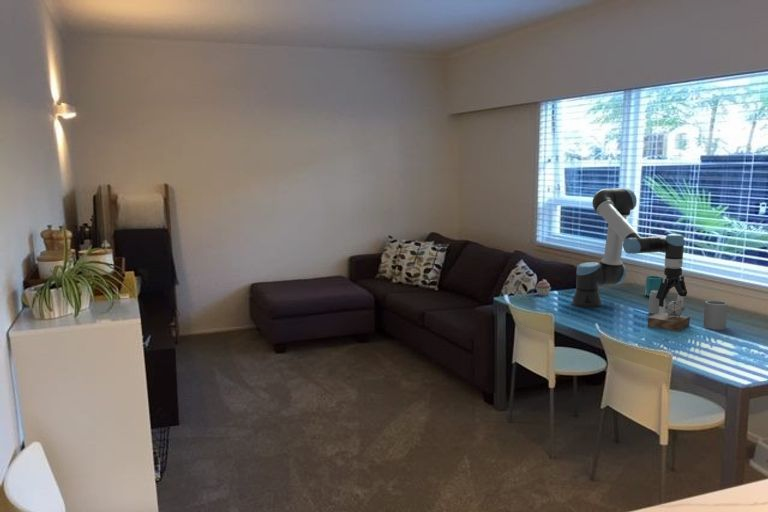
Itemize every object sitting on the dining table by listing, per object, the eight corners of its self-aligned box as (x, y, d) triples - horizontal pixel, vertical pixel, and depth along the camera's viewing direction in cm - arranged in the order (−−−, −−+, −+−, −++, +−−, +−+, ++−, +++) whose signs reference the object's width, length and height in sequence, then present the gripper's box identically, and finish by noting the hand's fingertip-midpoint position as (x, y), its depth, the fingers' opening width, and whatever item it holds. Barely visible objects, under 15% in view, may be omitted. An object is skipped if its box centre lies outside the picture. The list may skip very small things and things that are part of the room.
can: (666, 316, 303) (667, 292, 301) (650, 315, 304) (651, 292, 302) (662, 312, 310) (663, 289, 308) (647, 312, 311) (648, 289, 310)
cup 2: (725, 331, 274) (726, 305, 272) (702, 328, 279) (704, 303, 277) (726, 326, 282) (727, 301, 280) (704, 324, 287) (705, 299, 285)
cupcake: (534, 293, 361) (534, 277, 359) (550, 293, 359) (550, 277, 358) (535, 297, 351) (536, 280, 350) (552, 297, 350) (552, 280, 349)
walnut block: (647, 327, 284) (648, 317, 284) (659, 321, 294) (659, 312, 293) (678, 333, 274) (678, 322, 274) (689, 327, 284) (689, 316, 283)
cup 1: (670, 297, 344) (671, 278, 342) (649, 297, 344) (650, 278, 342) (662, 294, 353) (663, 275, 351) (642, 294, 352) (643, 275, 351)
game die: (656, 308, 286) (669, 292, 285) (666, 317, 289) (680, 301, 288) (669, 316, 278) (683, 299, 276) (679, 324, 281) (693, 308, 280)
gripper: (663, 271, 271) (661, 316, 274) (697, 265, 283) (694, 309, 286) (649, 268, 277) (647, 313, 280) (682, 263, 289) (679, 306, 293)
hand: (670, 311), depth 283 cm, fingers open, 13 cm apart
